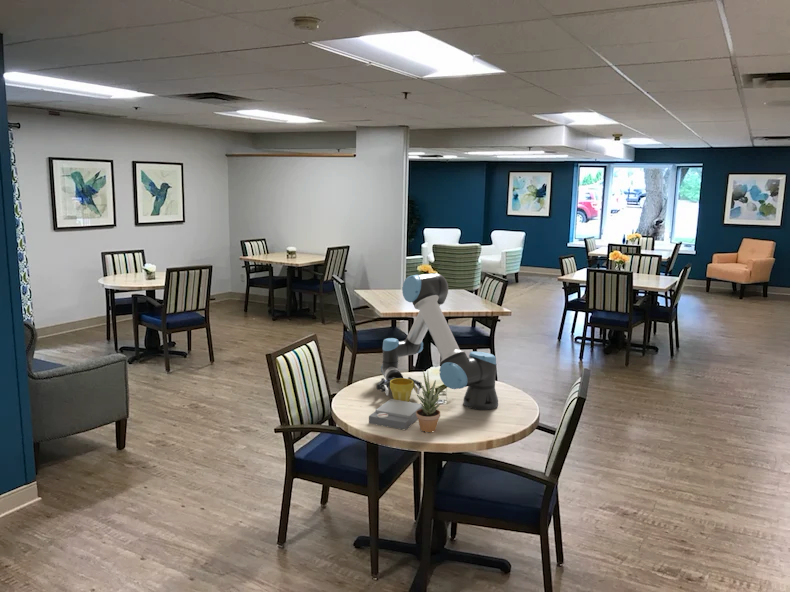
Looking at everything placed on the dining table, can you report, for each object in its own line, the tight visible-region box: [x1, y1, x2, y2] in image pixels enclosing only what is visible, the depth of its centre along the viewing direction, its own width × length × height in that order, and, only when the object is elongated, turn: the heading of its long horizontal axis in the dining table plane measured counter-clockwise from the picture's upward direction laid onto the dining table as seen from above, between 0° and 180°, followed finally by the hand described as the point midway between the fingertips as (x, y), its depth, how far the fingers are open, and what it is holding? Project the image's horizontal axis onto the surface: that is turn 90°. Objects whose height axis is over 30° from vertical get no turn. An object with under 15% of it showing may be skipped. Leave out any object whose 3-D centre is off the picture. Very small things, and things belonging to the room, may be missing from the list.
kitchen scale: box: [368, 398, 424, 431], centre depth 260 cm, size 16×20×4 cm
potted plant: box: [416, 370, 442, 433], centre depth 246 cm, size 10×10×25 cm
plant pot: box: [389, 377, 414, 402], centre depth 278 cm, size 10×10×10 cm
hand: (403, 391), depth 274 cm, fingers open, 13 cm apart
